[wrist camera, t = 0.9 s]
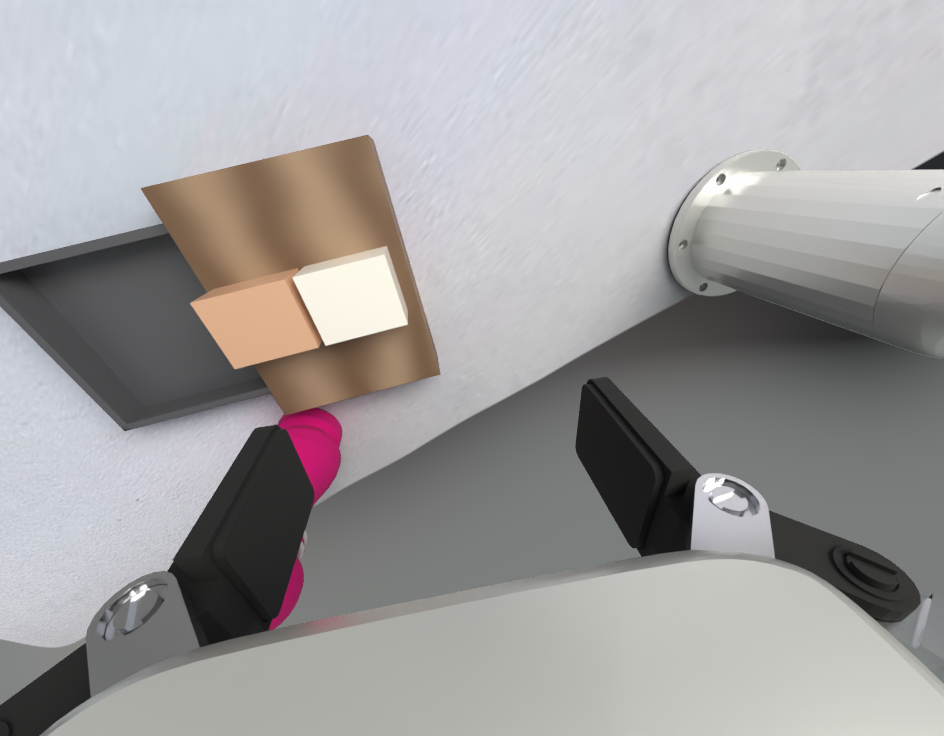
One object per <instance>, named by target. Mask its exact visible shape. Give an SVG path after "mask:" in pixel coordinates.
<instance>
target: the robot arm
mask: <svg viewBox="0 0 944 736" xmlns="http://www.w3.org/2000/svg"><path fill="white" fill-rule="evenodd" d="M668 252H669V263H670V267H671V271H672V273H673V275H674V277H675V279H676V280H677V282H678V283H679V284H680V285H681V286H682V287H684V288H685V289H687V290H689V291H691V292H693V293H696V294H698V295H702V296H709V297H710V296H721V295H725V294H729V293H732V292H734V291H737V290H738V291H741V292H744V293H747V294H750V295H752V296H755V297H758V298H761V299H764V300H766V301H769V302H772V303H775V304H778V305H781V306H783V307H786V308H789V309H792V310H795V311H798V312H800V313H803V314H806V315H809V316H812V317H815V318H817V319H820V320H823V321H826V322H828V323H831V324H834V325H837V326H840V327H843V328H845V329H848V330H851V331H854V332H857V333H860V334H863V335H866V336H868V337H871V338H874V339H877V340H880V341H882V342H885V343H888V344H891V345H894V346H897V347H900V348H903V349H906V350H909V351H912V352H915V353H919V354H922V355H926V356H931V357H936V358H941V359H944V170H824V171H801V170H800V168H799V166H798V164H797V163H796V162H795V161H794V160H793V159H792V158H791V157H790V156H789V155H787V154H785V153H783V152H781V151H776V150H769V149H765V150H752V151H748V152H744V153H740V154H738V155H735V156H733V157H731V158H729V159H727V160H725V161H724V162H722V163H721V164H719V165H718V166H716V167H715V168H713V169H712V170H711V171H710V172H709V173H708V174H707V175H706V176H705V177H704V178H702V179H701V180H700V182H699V183H698V184H697V185H696V186H695V188H694V189H693V190H692V191H691V192H690V194H689V195H688V197H687V198H686V200H685V202H684V203H683V205H682V206H681V208H680V210H679V213H678V215H677V217H676V219H675V221H674V225H673V228H672V231H671V234H670V241H669V248H668ZM576 452H577V455H578V457H579V459H580V460H581V462H582V464H583V466H584V467H585V469H586V471H587V473H588V474H589V476H590V478H591V480H592V481H593V483H594V485H595V487H596V488H597V490H598V492H599V493H600V495H601V497H602V499H603V500H604V502H605V504H606V506H607V507H608V509H609V511H610V512H611V514H612V516H613V517H614V519H615V521H616V523H617V524H618V526H619V528H620V530H621V531H622V533H623V535H624V537H625V538H626V540H627V542H628V543H629V545H630V546H631V547H632V548H637V550H638V551H639V553H640V555H641V556H642V557H638V558H633V559H627V560H622V561H616V562H610V563H604V564H599V565H594V566H589V567H583V568H578V569H573V570H568V571H563V572H557V573H552V574H547V575H542V576H537V577H532V578H527V579H521V580H516V581H511V582H506V583H501V584H496V585H490V586H485V587H481V588H475V589H470V590H465V591H460V592H455V593H450V594H445V595H440V596H435V597H430V598H425V599H420V600H415V601H411V602H405V603H400V604H395V605H390V606H385V607H380V608H376V609H370V610H365V611H361V612H356V613H351V614H346V615H341V616H336V617H331V618H326V619H321V620H316V621H311V622H306V623H302V624H297V625H293V626H288V627H283V628H279V629H275V630H270V631H269V628H270V625H271V622H272V619H275V618H276V617H277V616H278V615H279V613H280V610H281V607H282V604H283V600H284V597H285V594H286V591H287V587H288V584H289V581H290V577H291V574H292V571H293V568H294V564H295V561H296V558H297V554H298V551H299V548H300V545H301V541H302V538H303V535H304V532H305V528H306V525H307V521H308V518H309V515H310V512H311V509H312V505H313V502H314V496H315V494H314V488H313V486H312V484H311V482H310V479H309V477H308V475H307V473H306V471H305V468H304V466H303V464H302V462H301V460H300V457H299V455H298V453H297V451H296V449H295V447H294V444H293V442H292V440H291V438H290V436H289V433H288V432H287V430H286V429H281V428H280V427H279V426H278V425H273V426H266V427H259V428H256V429H254V431H253V432H252V434H251V435H250V437H249V438H248V440H247V442H246V443H245V445H244V446H243V448H242V450H241V451H240V453H239V454H238V456H237V458H236V459H235V461H234V462H233V464H232V466H231V467H230V469H229V470H228V472H227V474H226V475H225V477H224V479H223V480H222V482H221V483H220V485H219V487H218V488H217V490H216V491H215V493H214V495H213V496H212V498H211V499H210V501H209V503H208V504H207V506H206V507H205V509H204V511H203V512H202V514H201V515H200V517H199V519H198V520H197V522H196V524H195V525H194V527H193V528H192V530H191V532H190V533H189V535H188V536H187V538H186V540H185V541H184V543H183V544H182V546H181V548H180V549H179V551H178V552H177V554H176V556H175V557H174V559H173V561H174V562H173V563H172V565H171V566H170V568H169V570H168V571H167V572H166V571H161V572H153V573H151V574H148V575H145V576H142V577H140V578H138V579H136V580H135V581H133V582H131V583H129V584H128V585H126V586H125V587H124V588H122V589H121V590H119V591H118V592H117V593H115V594H114V595H113V596H112V597H111V598H110V599H109V600H108V601H107V602H106V603H105V604H104V605H103V606H102V607H101V609H100V610H99V611H98V612H97V614H96V615H95V616H94V618H93V620H92V621H91V623H90V625H89V627H88V629H87V635H86V643H85V644H84V645H82V646H81V647H79V648H78V649H77V650H75V651H74V652H73V653H71V654H70V655H69V656H67V657H66V658H64V659H63V660H62V661H60V662H59V663H58V664H56V665H55V666H53V667H52V668H51V669H49V670H48V671H47V672H45V673H44V674H42V675H41V676H40V677H38V678H37V679H36V680H34V681H33V682H32V683H30V684H29V685H27V686H26V687H25V688H23V689H22V690H21V691H19V692H18V693H17V694H15V695H14V696H12V697H11V698H10V699H8V700H7V701H6V702H4V703H3V704H1V705H0V736H944V599H943V598H941V597H939V596H937V595H936V594H934V593H933V594H932V595H931V596H929V597H927V596H925V595H923V594H921V593H919V591H918V589H917V588H916V586H915V584H914V582H913V581H912V580H911V579H910V578H909V577H908V576H907V575H906V574H905V572H903V571H902V570H901V569H900V568H899V567H897V566H896V565H895V564H894V563H893V562H891V561H890V560H888V559H887V558H885V557H883V556H882V555H880V554H878V553H877V552H874V551H873V550H870V549H868V548H866V547H864V546H862V545H859V544H856V543H854V542H851V541H848V540H846V539H843V538H840V537H838V536H835V535H832V534H830V533H827V532H824V531H821V530H819V529H817V528H814V527H811V526H808V525H806V524H803V523H800V522H798V521H795V520H793V519H790V518H787V517H784V516H782V515H779V514H777V513H774V512H772V511H769V509H768V506H767V503H766V501H765V500H764V498H763V497H762V496H761V494H760V493H759V492H758V491H756V490H755V489H754V488H753V487H752V486H750V485H749V484H747V483H745V482H744V481H742V480H740V479H737V478H734V477H732V476H729V475H725V474H720V473H709V474H705V475H702V476H701V475H700V474H699V473H698V472H697V471H696V469H695V468H694V467H693V466H692V465H691V464H690V463H689V462H688V461H687V460H686V459H685V458H684V457H683V456H682V455H681V454H680V453H679V452H678V451H677V449H676V448H675V447H674V446H673V445H672V444H671V443H670V442H669V441H668V440H667V439H666V438H665V437H664V436H663V435H662V434H661V433H660V432H659V430H658V429H657V428H656V427H655V426H654V425H653V424H652V423H651V422H650V421H649V420H648V419H647V418H646V417H645V416H644V415H643V414H642V413H641V412H640V411H639V410H638V409H637V408H636V407H635V406H634V405H633V403H632V402H631V401H630V400H629V399H628V398H627V397H626V396H625V395H624V394H623V393H622V392H621V391H620V390H619V389H618V388H617V387H616V385H614V383H613V382H612V381H611V380H610V379H609V378H607V377H603V378H595V379H589V380H588V381H587V384H585V385H583V387H582V393H581V402H580V411H579V419H578V428H577V437H576Z"/></svg>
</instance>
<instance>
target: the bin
mask: <svg viewBox="0 0 944 736" xmlns="http://www.w3.org/2000/svg"><path fill="white" fill-rule="evenodd" d="M206 293H207V291H206V290H205V288H204V287H203V285H202V284H201V282H200V280H199V279H198V277H197V276H196V274H195V273H194V271H193V270H192V268H191V266H190V265H189V263H188V262H187V260H186V259H185V257H184V255H183V254H182V252H181V251H180V249H179V248H178V246H177V245H176V243H175V241H174V240H173V238H172V237H171V235H170V234H169V232H168V230H167V229H166V227H165V226H164V224H159V225H155V226H151V227H147V228H143V229H138V230H134V231H130V232H126V233H122V234H118V235H113V236H109V237H105V238H101V239H97V240H93V241H88V242H84V243H80V244H76V245H72V246H68V247H63V248H59V249H55V250H51V251H47V252H43V253H38V254H34V255H30V256H26V257H22V258H18V259H13V260H9V261H5V262H1V263H0V306H1V307H2V308H3V309H4V310H5V311H6V312H7V313H8V314H9V315H10V316H11V317H12V318H13V319H14V320H15V321H16V322H17V323H18V324H19V325H20V326H21V327H22V328H23V329H24V330H25V331H26V332H27V333H28V334H29V335H30V336H31V337H32V338H33V339H34V340H35V341H36V343H37V344H38V345H39V346H40V347H41V348H42V349H43V350H44V351H45V352H46V353H47V354H48V355H49V356H50V357H51V358H52V359H53V360H54V361H55V362H56V363H57V364H58V365H59V366H60V367H61V368H62V369H63V370H64V371H65V372H66V373H67V374H68V375H69V376H70V377H71V378H72V379H73V380H74V381H75V382H76V383H77V384H78V385H79V386H80V387H81V388H82V389H83V390H84V391H85V392H86V393H87V394H88V395H89V396H90V397H91V398H92V399H93V400H94V401H95V402H96V403H97V404H98V405H99V406H100V407H101V408H102V409H103V410H104V411H105V412H106V413H107V414H108V415H109V416H110V417H111V418H112V419H113V420H114V421H115V422H116V423H117V424H118V425H119V426H120V427H121V428H122V429H123V430H124V431H127V430H131V429H135V428H139V427H143V426H146V425H150V424H154V423H158V422H162V421H165V420H169V419H173V418H177V417H181V416H184V415H188V414H192V413H196V412H200V411H203V410H207V409H211V408H215V407H219V406H223V405H226V404H230V403H234V402H238V401H242V400H245V399H249V398H253V397H257V396H261V395H264V394H268V393H271V391H270V390H269V388H268V387H267V385H266V384H265V382H264V381H263V379H262V377H261V376H260V374H259V373H258V371H257V370H256V368H255V366H254V365H250V366H246V367H242V368H238V369H234V367H233V366H232V364H231V363H230V362H229V360H228V359H227V357H226V356H225V354H224V353H223V351H222V350H221V348H220V347H219V345H218V344H217V342H216V341H215V339H214V338H213V337H212V335H211V334H210V332H209V331H208V329H207V328H206V326H205V325H204V323H203V322H202V320H201V319H200V317H199V316H198V314H197V313H196V312H195V310H194V309H193V307H192V306H191V304H190V303H191V302H193V301H194V300H196V299H198V298H199V297H201V296H203V295H204V294H206Z"/></svg>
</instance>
